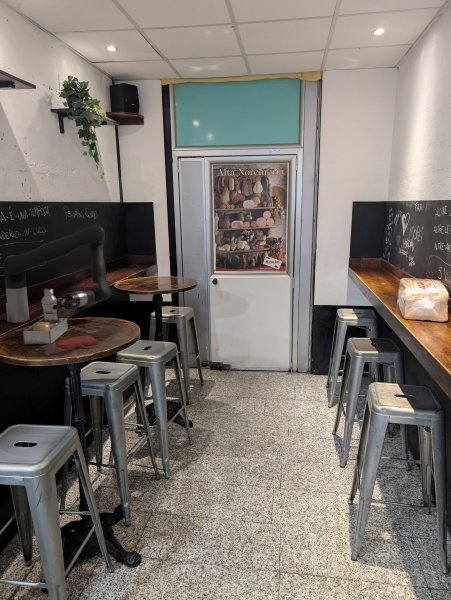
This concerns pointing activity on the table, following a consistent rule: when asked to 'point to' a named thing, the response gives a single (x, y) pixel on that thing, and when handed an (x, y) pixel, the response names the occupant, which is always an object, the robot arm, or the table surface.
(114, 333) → the table surface
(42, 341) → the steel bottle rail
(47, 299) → the plastic bottle
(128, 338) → the table surface
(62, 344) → the red cloth
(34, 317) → the table surface
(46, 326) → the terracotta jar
